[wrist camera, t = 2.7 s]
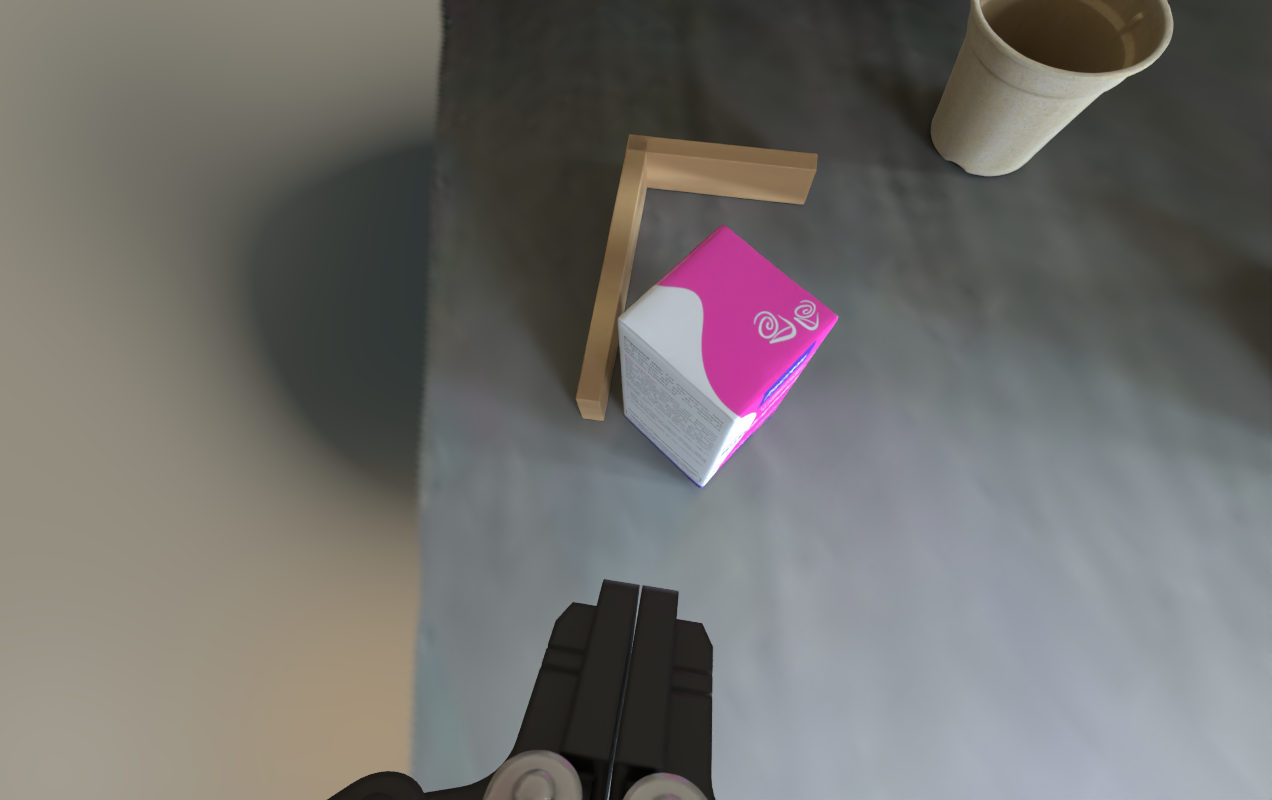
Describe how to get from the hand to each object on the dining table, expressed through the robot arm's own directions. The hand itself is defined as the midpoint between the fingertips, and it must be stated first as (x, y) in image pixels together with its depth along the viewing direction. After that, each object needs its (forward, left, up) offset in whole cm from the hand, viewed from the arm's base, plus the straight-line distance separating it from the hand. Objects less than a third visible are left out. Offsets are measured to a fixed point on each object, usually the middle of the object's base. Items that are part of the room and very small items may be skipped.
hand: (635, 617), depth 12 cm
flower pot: (-35, -6, -17) cm, 39 cm away
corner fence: (-14, -10, -17) cm, 25 cm away
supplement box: (-9, -5, -17) cm, 20 cm away
